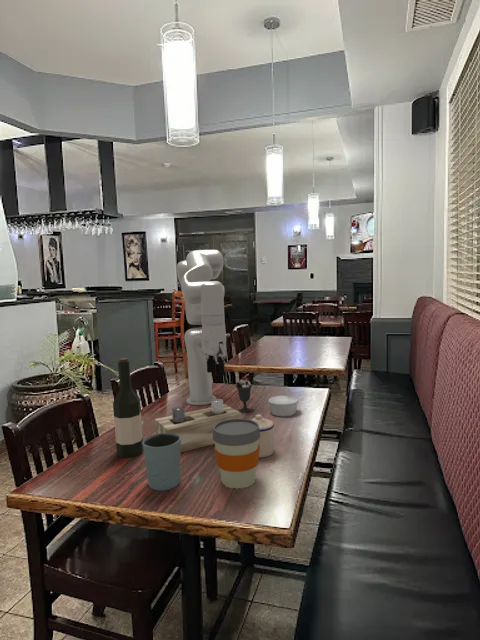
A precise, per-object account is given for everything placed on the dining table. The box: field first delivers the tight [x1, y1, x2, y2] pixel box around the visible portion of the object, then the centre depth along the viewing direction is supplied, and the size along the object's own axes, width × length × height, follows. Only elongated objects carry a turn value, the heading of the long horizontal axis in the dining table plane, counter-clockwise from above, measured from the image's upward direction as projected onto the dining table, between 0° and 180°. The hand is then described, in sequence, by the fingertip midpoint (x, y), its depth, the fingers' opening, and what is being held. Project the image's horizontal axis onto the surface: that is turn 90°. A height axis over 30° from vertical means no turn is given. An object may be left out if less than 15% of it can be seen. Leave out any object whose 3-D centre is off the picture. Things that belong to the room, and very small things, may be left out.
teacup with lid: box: [250, 413, 275, 458], centre depth 136 cm, size 12×9×12 cm
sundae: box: [235, 373, 253, 414], centre depth 175 cm, size 7×7×15 cm
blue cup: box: [142, 433, 182, 491], centre depth 119 cm, size 10×10×12 cm
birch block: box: [154, 404, 243, 453], centre depth 148 cm, size 12×26×8 cm, turn 119°
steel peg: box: [211, 398, 224, 416], centre depth 151 cm, size 4×4×8 cm
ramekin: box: [267, 395, 299, 417], centre depth 172 cm, size 11×11×5 cm
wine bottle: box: [112, 357, 144, 459], centre depth 139 cm, size 8×8×30 cm
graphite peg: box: [171, 406, 186, 424], centre depth 144 cm, size 4×4×8 cm
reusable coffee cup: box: [213, 418, 260, 490], centre depth 118 cm, size 13×13×15 cm
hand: (215, 373), depth 149 cm, fingers open, 5 cm apart
